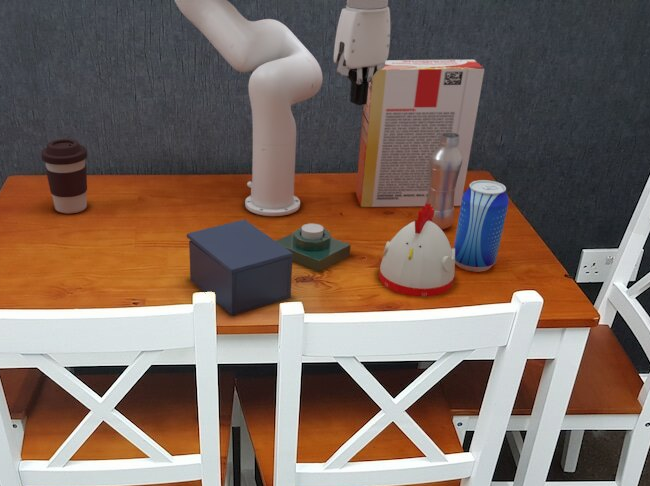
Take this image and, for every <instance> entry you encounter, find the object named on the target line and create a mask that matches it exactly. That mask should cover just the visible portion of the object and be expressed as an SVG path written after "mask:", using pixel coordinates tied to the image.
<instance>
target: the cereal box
mask: <svg viewBox="0 0 650 486" xmlns="http://www.w3.org/2000/svg"><path fill="white" fill-rule="evenodd" d="M484 75H485V67H484V66H482V65H481V64H480V63H479V62H478V61H476V59H395V60H394V59H393V60H392V59H389V60H388V59H387V60H386V61H385V67H384V68H383V69H381V70H379V71H376V73H375V74H374V75H373V78H372V81H371V82H370V83H369V85H368V96H367V104H364V105H363V109H362V120H361V130H360V140H359V141H360V143H359V154H358V165H357V175H356V176H357V177H356V184H355V185H356V186H355V195H356V198H357V200H358V203H359V206H360V208H374V207H375V208H377V207H379V208H381V207H382V208H383V207H387V208H388V207H389V208H390V207H392V208H393V207H423V206H425V204H426V199H427V195H428V190H429V178H430V173H429V165H430V164H429V162H430V157H431V155H432V154H433V152H434V151H435V150H436V149H437V148H438V147H439V146H440V144H439V140H440V136H441V134H442V133H446V132H451V133H456V134H459V145H458V146H457V149H458V150H459V152H460V154H461V157H462V166H461V169H460V172H459V175H458V179H457V183H456V187H455V193H454V207H461V203H462V197H463V194H464V192H465V185H466V179H467V173H468V167H469V161H470V155H471V151H472V146H473V145H472V144H473V140H474V139H473V138H474V132H475V128H476V121H477V116H478V109H479V103H480V98H481V93H482V92H481V91H482V86H483V85H482V84H483V80H484Z"/></svg>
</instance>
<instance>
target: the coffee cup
mask: <svg viewBox="0 0 650 486" xmlns="http://www.w3.org/2000/svg"><path fill="white" fill-rule="evenodd" d="M40 157H41V160H42V161H43V162H44V163H45V173H46V177H47V178H46V179H47V182H48V187H49V190H50V194H51V196H52V201H53V205H54V209H55V210H56V211H57V212H58V213H61V214H67V215H68V214H69V215H70V214H77V213H80V212H83V211H85V210H86V209H87V207H88V198H87V191H88V176H87V175H88V174H87V164H86V159H87V158H88V149H87V147H86V146H84V145H83V144H80V142H79V141H78V140H76V139H73V138H58V139H54V140H51V141H49V142H48V143H47V145H46V147H43V149H41V151H40Z"/></svg>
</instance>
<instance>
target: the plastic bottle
mask: <svg viewBox="0 0 650 486" xmlns="http://www.w3.org/2000/svg"><path fill="white" fill-rule="evenodd" d="M439 144H440V146H439V147H438V148H437V149H436V150H435V151H434V152H433V154H432V155H431V157H430V162H429V164H430V165H429V173H430V178H429V190H428V195H427V199H426V203H428V204H431V207H433V209H432V210H435V211H434V215H433V219H432V222H433V223H435V224H436V225H437V226H438V227H439V228H440V229H441V230H446V229H448V228H450V226H452V224H453V222H454V219H455V206H454V193H455V187H456V183H457V179H458V175H459V172H460V169H461V166H462V157H461V154H460V152H459V150H458V149H457V146H458V145H459V134H456V133H451V132H446V133H442V134H441V136H440V140H439Z"/></svg>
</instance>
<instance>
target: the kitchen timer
mask: <svg viewBox="0 0 650 486" xmlns="http://www.w3.org/2000/svg"><path fill="white" fill-rule="evenodd" d="M421 207H422V208H421V210H418V214H417V219H414V221H411V222H410V223H408V224H406V225H405V226H403V227H402V228H401V229H400V230H399V231H398V232H397V233H396V234H395V235H394V236H393V237H392V238H391V240H388V241H386V243H385V247H384V250H383V253H382V259H381V262H380V267H379V271H378V272H379V273H378V276H379V281H380V282H381V283H382V285H383V286H384V287H385V288H387V289H389V290H390V291H393V292H394V293H397V294H402V295H405V296H410V297H417V298H420V297H421V298H422V297H423V298H424V297H425V298H426V297H434V296H440V295H442V294H445V293H447V292H449V290H450V289H452V287H453V285H454V280H455V266H456V263H455V248H454V247H452V246H451V244H450V241H449V239H448V236H447V235H446V234H445V232H444V231H443V229H440V228H439V227H438V226H437V225H436V224H435V223H433V222H432V219H433V215H434V211H435V210H432V209H433V207H431V204H428V203H426V204H425V206H421Z"/></svg>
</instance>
